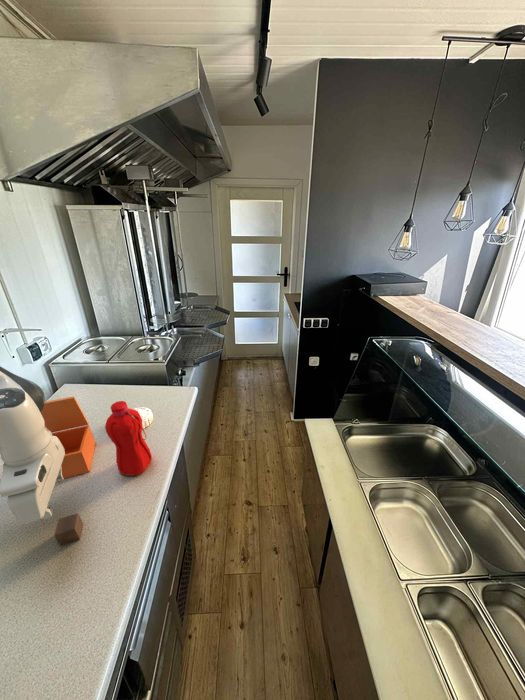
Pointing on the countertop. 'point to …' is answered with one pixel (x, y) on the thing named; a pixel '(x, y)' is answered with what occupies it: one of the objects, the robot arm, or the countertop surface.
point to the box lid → (63, 414)
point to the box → (76, 450)
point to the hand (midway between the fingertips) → (54, 498)
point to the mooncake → (145, 416)
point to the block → (68, 529)
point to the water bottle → (128, 439)
